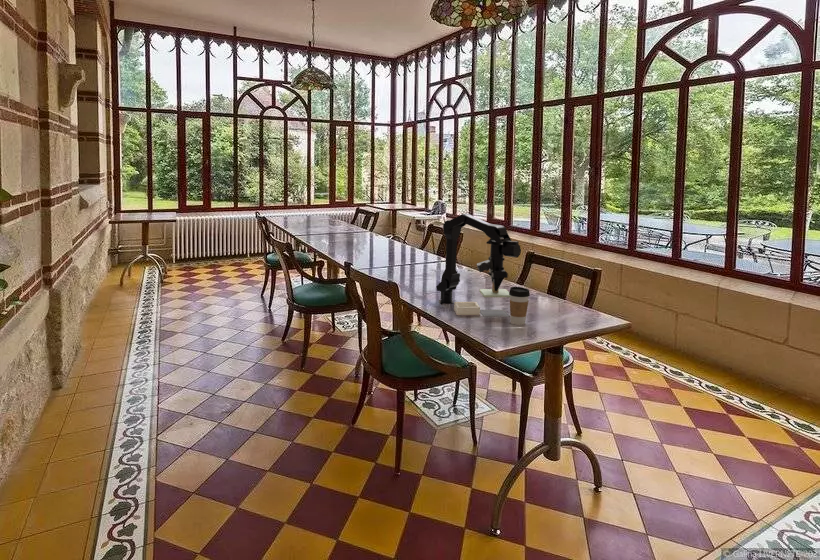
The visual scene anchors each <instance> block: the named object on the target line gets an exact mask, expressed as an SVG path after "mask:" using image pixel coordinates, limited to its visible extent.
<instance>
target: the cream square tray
mask: <svg viewBox="0 0 820 560" xmlns="http://www.w3.org/2000/svg"><path fill="white" fill-rule="evenodd" d="M453 303H454V304H453V310H454V312H455V314H456V316H460V317H461V316H475V317H477V316H478V317H479V316H481V313H480V310H481V307H480V305H479V304H478V302H477V301H453Z"/></svg>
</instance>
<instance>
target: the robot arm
mask: <svg viewBox="0 0 820 560" xmlns="http://www.w3.org/2000/svg"><path fill="white" fill-rule="evenodd" d="M466 225H467V226H470V227H472V228H474V229H476V230H478V231H481V232H483V233H484V234H485V236H487V238H489V240H487V241H486V244H487V245H490V252H489V253H490V254H489V256H488V259H487V260H484V261H483V260H482V261H480V262H477V263H476V266H477V267H476V268H477V270H478V272H479V273H483V272H484V271H486V272H487V273H486V274H488V275H489V276H490V279H491V283H492V282H494V289H495V291H497V290H498V288H499V289H500V287H501V284H502V283H503V281H504V279H507V278H509V277H508V276H509V275H508V274H509V273H508V272H507V271H506V270H505V267H504V261H505V259H506V258H505V257H508V258H509V257H510V258H515V259H516V258H519V257H520V256H521V253H522V248H521V246H520V244H519V241H517V240H516V241H514V240H513V241H512V239H511V236H510V235H509V233H508V231H507V228H506V226H504V225H501V224H493V223H489V222H487V221H485V220H483V219H480V218H478V217H476V216H474V215H472V214H470V213H461V214H460V215H458V216H457V217H454V218H452V219H449V220H445V221H444V222H443V226H442V228H443V229H442V230H443V235H444V237H445V239H446V247H445V249H446V250H445V269H444V271H443V273H442V274H441V278H440V279H441V280H440V282H438V284H436V287H435V288H436V290H437V291H438V292H440V295H439V296H440V299H438V302H439V304H440V305H445V304H447V305H449V304H450V305H454V301H453V291H454V290H457V287H458V285H459V284H460V282H461V279H460V277H461V274H460V273H461V272H460V273H458V271H457V249H458V239H459V237H460V235H461V231H462V228H463V227H465V226H466Z"/></svg>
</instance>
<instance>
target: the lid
mask: <svg viewBox="0 0 820 560" xmlns="http://www.w3.org/2000/svg"><path fill="white" fill-rule="evenodd" d="M491 283H492V284H491V288H479V289H478V292H479V293H480V294H481V295H482V297H483V299H484V298H489V299H490V298H494V299H495V298H498V299H499V298H509V299H510V295H509V292H510V291H508V290H507V289H506V288H500V287H499V288H498V290H497V291H495V289H494V282H492V281H491Z"/></svg>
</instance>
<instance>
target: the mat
mask: <svg viewBox="0 0 820 560" xmlns="http://www.w3.org/2000/svg"><path fill="white" fill-rule="evenodd" d="M480 316H482V317H483V318H497V317H498V318H510V313H508V312H507V311H506V310H505V309H480Z"/></svg>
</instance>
